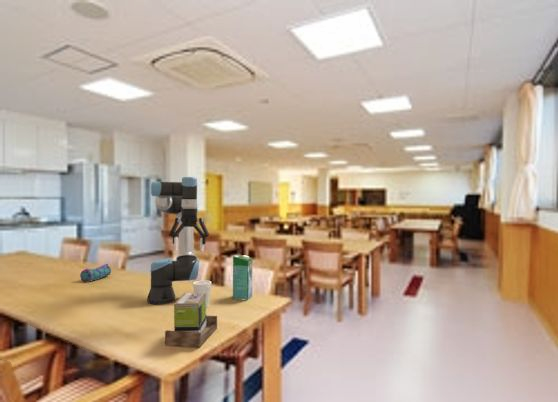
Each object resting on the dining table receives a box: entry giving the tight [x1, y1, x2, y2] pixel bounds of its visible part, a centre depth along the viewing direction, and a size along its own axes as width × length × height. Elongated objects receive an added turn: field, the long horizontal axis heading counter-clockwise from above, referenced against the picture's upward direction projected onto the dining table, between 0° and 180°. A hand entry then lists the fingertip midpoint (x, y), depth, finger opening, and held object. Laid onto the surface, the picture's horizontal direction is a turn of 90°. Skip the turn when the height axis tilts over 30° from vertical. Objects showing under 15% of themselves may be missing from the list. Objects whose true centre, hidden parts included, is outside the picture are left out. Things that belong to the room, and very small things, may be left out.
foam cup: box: [192, 279, 212, 309], centre depth 177 cm, size 10×9×13 cm
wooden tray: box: [164, 314, 218, 349], centre depth 138 cm, size 14×20×6 cm
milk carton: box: [232, 253, 253, 301], centre depth 195 cm, size 9×9×25 cm
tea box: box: [173, 292, 207, 334], centre depth 138 cm, size 15×10×15 cm
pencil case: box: [79, 263, 112, 282], centre depth 240 cm, size 21×9×10 cm, turn 168°
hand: (189, 250), depth 165 cm, fingers open, 13 cm apart
